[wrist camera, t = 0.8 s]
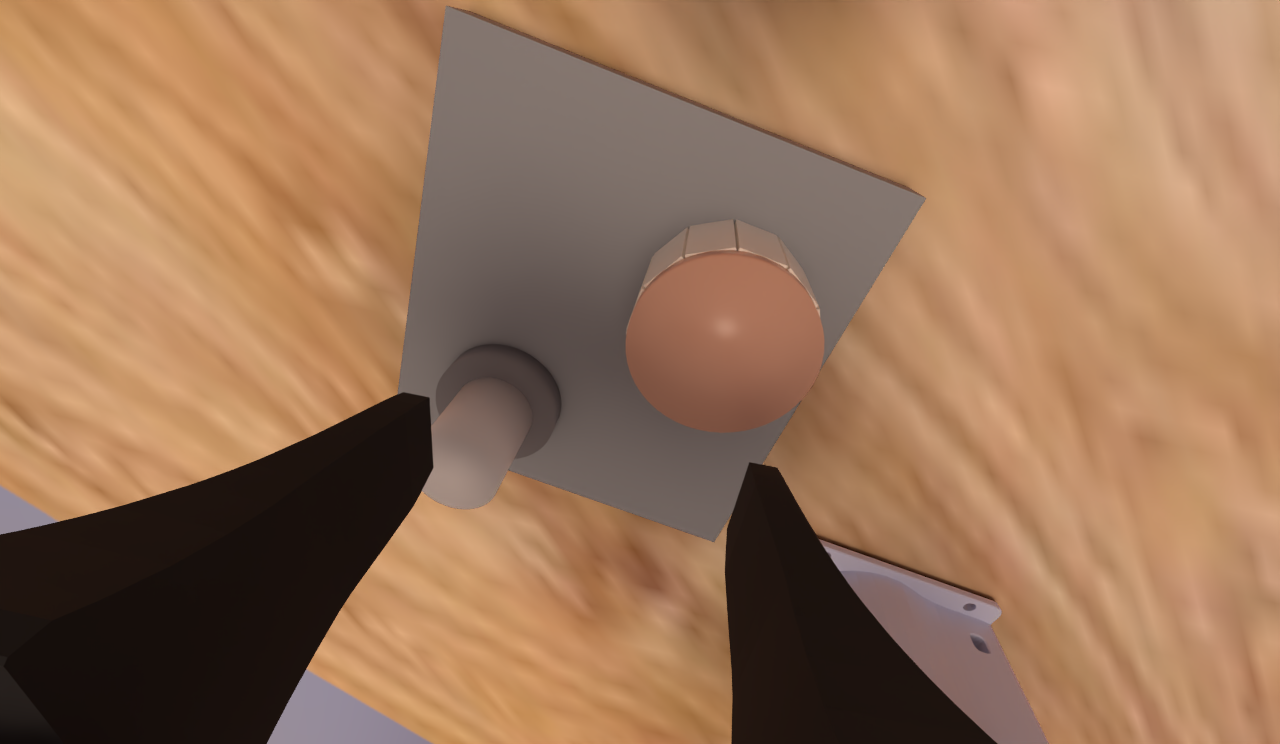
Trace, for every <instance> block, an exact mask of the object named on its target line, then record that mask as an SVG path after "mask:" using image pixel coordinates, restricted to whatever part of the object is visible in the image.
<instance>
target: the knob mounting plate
mask: <svg viewBox="0 0 1280 744" xmlns="http://www.w3.org/2000/svg"><path fill="white" fill-rule="evenodd" d="M925 199H926V198H925V197H923V196H922V195H920V194H919V193H917V192H915V191H914V190H912V189H910V188H908V187H906V186H903V185H901V184H898V183H896V182H893V181H891V180H888V179H886V178H883V177H881V176H878V175H876V174H873V173H871V172H868V171H866V170H863V169H861V168H858V167H856V166H854V165H851V164H849V163H846V162H844V161H841V160H839V159H836V158H834V157H831V156H829V155H826V154H824V153H821V152H819V151H816V150H814V149H811V148H809V147H806V146H804V145H801V144H799V143H796V142H794V141H791V140H789V139H786V138H784V137H781V136H779V135H776V134H774V133H771V132H769V131H766V130H764V129H761V128H759V127H756V126H754V125H751V124H749V123H746V122H744V121H741V120H739V119H736V118H734V117H731V116H729V115H726V114H724V113H722V112H719V111H717V110H714V109H712V108H709V107H707V106H704V105H702V104H699V103H697V102H694V101H692V100H689V99H687V98H684V97H682V96H679V95H677V94H674V93H672V92H669V91H667V90H664V89H662V88H659V87H657V86H654V85H652V84H649V83H647V82H644V81H642V80H639V79H637V78H634V77H632V76H629V75H627V74H624V73H622V72H619V71H617V70H614V69H612V68H609V67H607V66H604V65H602V64H599V63H597V62H594V61H592V60H589V59H587V58H585V57H582V56H580V55H577V54H575V53H572V52H570V51H567V50H565V49H562V48H560V47H557V46H555V45H552V44H550V43H547V42H545V41H542V40H540V39H537V38H535V37H532V36H530V35H527V34H525V33H522V32H520V31H517V30H515V29H512V28H510V27H507V26H505V25H502V24H500V23H497V22H495V21H492V20H490V19H487V18H485V17H482V16H480V15H477V14H475V13H472V12H470V11H466V10H462V9H458V8H454V7H450V6H446V9H445V17H444V25H443V33H442V42H441V50H440V58H439V66H438V74H437V82H436V90H435V98H434V106H433V114H432V122H431V130H430V138H429V146H428V154H427V162H426V170H425V178H424V186H423V194H422V202H421V210H420V218H419V226H418V234H417V243H416V251H415V259H414V267H413V275H412V283H411V291H410V299H409V307H408V315H407V323H406V331H405V339H404V347H403V355H402V363H401V371H400V379H399V387H398V394H400V393H402V392H405V393H410V394H415V395H420V396H425V397H430V414H431V432H432V449H433V466H434V468H433V470H432V472H431V474H430V476H429V478H428V480H427V482H426V484H425V486H424V487H423V489H422V491H423V492H424V493H425V494H426V495H427V496H429V497H430V498H431V499H433V500H435V501H436V502H438V503H440V504H443V505H445V506H448V507H452V508H457V509H474V508H478V507H481V506H484V505H485V504H487V503H488V502H490V501H491V500H492V499H493V497H494V496H495V494H496V492H497V490H498V488H499V486H500V484H501V483H502V481H503V479H504V477H505V475H506V473H507V471H508V470H509V471H512V472H515V473H518V474H520V475H523V476H526V477H529V478H532V479H535V480H538V481H540V482H543V483H546V484H549V485H552V486H555V487H558V488H561V489H563V490H566V491H569V492H572V493H575V494H578V495H581V496H583V497H586V498H589V499H592V500H595V501H598V502H601V503H603V504H606V505H609V506H612V507H615V508H618V509H621V510H623V511H626V512H629V513H632V514H635V515H638V516H641V517H643V518H646V519H649V520H652V521H655V522H658V523H661V524H663V525H666V526H669V527H672V528H675V529H678V530H681V531H683V532H686V533H689V534H692V535H695V536H698V537H701V538H704V539H706V540H709V541H712V542H714V541H715V540H716V538H717V537H718V535H719V533H720V532H721V530H722V528H723V527H724V525H725V524H726V522H727V520H728V519H729V517H730V515H731V514H732V512H733V510H734V507H735V504H736V501H737V498H738V495H739V492H740V489H741V486H742V483H743V480H744V477H745V474H746V471H747V468H748V465H749V462H751V463H756V464H761V465H762V464H763V462H764V460H765V459H766V457H767V455H768V454H769V452H770V451H771V449H772V447H773V446H774V444H775V443H776V441H777V439H778V438H779V436H780V434H781V433H782V431H783V430H784V428H785V426H786V425H787V423H788V421H789V420H790V418H791V417H792V415H793V413H794V412H795V410H796V408H797V407H798V405H799V404H800V402H801V401H800V402H799V403H798V404H797V405H796V406H795V407H794V408H792V409H791V410H790V411H789V412H788V413H786V414H784V415H783V416H781V417H780V418H778V419H776V420H774V421H772V422H770V423H768V424H766V425H763V426H760V427H757V428H754V429H750V430H746V431H739V432H728V433H718V432H708V431H702V430H697V429H694V428H690V427H687V426H684V425H682V424H680V423H677V422H675V421H673V420H672V419H670V418H668V417H666V416H665V415H663V414H662V413H661V412H659V411H658V410H657V409H656V408H654V407H653V406H652V405H651V404H650V403H649V402H648V401H647V400H646V398H645V397H644V396H643V395H642V394H641V392H640V391H639V389H638V387H637V386H636V384H635V382H634V380H633V378H632V376H631V374H630V370H629V367H628V364H627V358H626V331H627V330H626V328H627V326H628V323H629V320H630V317H631V314H632V311H633V308H634V306H635V303H636V300H637V297H638V294H639V291H640V289H641V286H642V283H643V281H644V278H645V275H646V273H647V270H648V267H649V264H650V262H651V259H652V256H654V253H656V252H657V251H658V250H659V249H661V248H662V247H663V246H664V245H666V244H667V243H668V242H669V241H671V240H672V239H673V238H674V237H676V236H677V235H678V234H679V233H680V232H682V231H683V230H684V229H685V228H688V229H689V228H690V226H693V225H699V224H705V223H712V222H718V221H724V220H731V219H733V221H734V224H735V221H736V219H737V220H739V221H742V222H744V223H747V224H749V225H752V226H755V227H757V228H760V229H762V230H765V231H767V232H770V233H773V234H775V235H777V237H779V238H780V239H781V240H782V242H783V243H784V244H785V246H786V247H787V248H788V250H789V251H790V252H791V254H792V255H793V257H794V258H795V259H796V261H797V262H798V263H799V265H800V266H801V267H802V269H803V270H804V273H805V275H806V277H807V280H808V282H809V284H810V287H811V289H812V291H813V294H814V296H815V298H816V301H817V303H818V305H819V308H820V319H821V323H822V327H823V332H824V341H825V343H824V356H823V361H822V365H821V368H822V366H823V365H824V363H825V361H826V360H827V358H828V357H829V355H830V353H831V352H832V350H833V349H834V347H835V345H836V344H837V342H838V340H839V339H840V337H841V336H842V334H843V332H844V331H845V329H846V327H847V326H848V324H849V323H850V321H851V319H852V318H853V316H854V314H855V313H856V311H857V310H858V308H859V306H860V305H861V303H862V302H863V300H864V298H865V297H866V295H867V293H868V292H869V290H870V289H871V287H872V285H873V284H874V282H875V280H876V279H877V277H878V276H879V274H880V272H881V271H882V269H883V267H884V266H885V264H886V263H887V261H888V259H889V258H890V256H891V255H892V253H893V251H894V250H895V248H896V246H897V245H898V243H899V242H900V240H901V238H902V237H903V235H904V233H905V232H906V230H907V229H908V227H909V225H910V224H911V222H912V220H913V219H914V217H915V216H916V214H917V212H918V211H919V209H920V208H921V206H922V204H923V203H924V201H925ZM821 368H820V370H821Z"/></svg>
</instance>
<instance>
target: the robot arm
mask: <svg viewBox="0 0 1280 744" xmlns="http://www.w3.org/2000/svg"><path fill="white" fill-rule="evenodd" d="M433 468H434V466H433V449H432V432H431V414H430V397H425V396H420V395H415V394H410V393H405V392H402V393H400V394H398V395H395V396H393V397H391V398H389V399H387V400H384V401H382V402H380V403H378V404H376V405H374V406H372V407H370V408H368V409H366V410H364V411H362V412H360V413H358V414H356V415H354V416H352V417H350V418H348V419H346V420H344V421H342V422H340V423H338V424H336V425H334V426H332V427H330V428H328V429H326V430H324V431H321V432H319V433H317V434H315V435H313V436H311V437H309V438H306V439H304V440H302V441H300V442H297V443H295V444H293V445H291V446H288V447H286V448H284V449H282V450H279V451H277V452H275V453H273V454H270V455H268V456H266V457H264V458H261V459H259V460H256V461H254V462H251V463H249V464H246V465H244V466H241V467H239V468H236V469H234V470H231V471H228V472H225V473H223V474H220V475H217V476H214V477H212V478H209V479H206V480H203V481H200V482H197V483H195V484H192V485H189V486H185V487H182V488H179V489H176V490H172V491H169V492H166V493H162V494H159V495H156V496H153V497H149V498H146V499H143V500H140V501H136V502H133V503H130V504H126V505H123V506H119V507H116V508H112V509H108V510H104V511H100V512H96V513H93V514H89V515H85V516H81V517H77V518H73V519H68V520H64V521H60V522H56V523H52V524H48V525H43V526H39V527H34V528H30V529H25V530H21V531H16V532H11V533H6V534H1V535H0V744H267V742H268V740H269V738H270V736H271V734H272V732H273V730H274V728H275V726H276V724H277V722H278V720H279V718H280V717H281V715H282V713H283V711H284V709H285V707H286V705H287V703H288V701H289V699H290V698H291V696H292V694H293V692H294V690H295V688H296V686H297V685H298V683H299V681H300V679H301V678H302V676H303V674H304V672H305V670H306V668H307V667H308V665H309V663H310V661H311V659H312V658H313V656H314V654H315V652H316V651H317V649H318V647H319V645H320V644H321V642H322V640H323V638H324V637H325V635H326V633H327V632H328V630H329V628H330V626H331V625H332V623H333V621H334V620H335V618H336V616H337V614H338V613H339V611H340V609H341V608H342V606H343V605H344V603H345V602H346V600H347V599H348V597H349V596H350V594H351V593H352V591H353V590H354V588H355V587H356V586H357V584H358V583H359V582H360V580H361V579H362V577H363V576H364V575H365V573H366V572H367V570H368V569H369V568H370V566H371V565H372V564H373V562H374V561H375V559H376V558H377V557H378V555H379V554H380V552H381V551H382V550H383V548H384V547H385V545H386V544H387V543H388V541H389V540H390V539H391V537H392V536H393V534H394V533H395V532H396V530H397V529H398V527H399V526H400V524H401V523H402V522H403V520H404V519H405V517H406V516H407V515H408V513H409V512H410V510H411V509H412V507H413V506H414V504H415V502H416V500H417V498H418V497H419V495H420V493H421V491H422V489H423V487H424V486H425V484H426V482H427V480H428V478H429V476H430V474H431V472H432V470H433ZM725 580H726V596H727V611H728V624H729V639H730V653H731V667H732V691H733V704H732V744H1049V743H1048V741H1047V739H1046V737H1045V735H1044V733H1043V731H1042V729H1041V727H1040V725H1039V723H1038V721H1037V719H1036V717H1035V715H1034V712H1033V710H1032V708H1031V706H1030V704H1029V702H1028V700H1027V698H1026V696H1025V694H1024V692H1023V690H1022V688H1021V686H1020V684H1019V682H1018V680H1017V678H1016V676H1015V674H1014V672H1013V670H1012V668H1011V666H1010V664H1009V662H1008V660H1007V658H1006V656H1005V654H1004V652H1003V650H1002V647H1001V645H1000V643H999V641H998V639H997V637H996V635H995V633H994V631H993V629H992V627H991V624H992V623H993V622H994V621H995V620H997V619H998V618H999V617H1000V615H1001V613H1002V611H1001V609H1000V607H999V605H998V604H997V603H996V602H995V601H992V600H989V599H987V598H984V597H981V596H978V595H975V594H972V593H970V592H967V591H964V590H961V589H958V588H956V587H953V586H950V585H947V584H944V583H941V582H939V581H936V580H933V579H930V578H927V577H925V576H922V575H919V574H916V573H913V572H910V571H908V570H905V569H902V568H899V567H896V566H894V565H891V564H888V563H885V562H882V561H879V560H877V559H874V558H871V557H868V556H865V555H862V554H860V553H857V552H854V551H851V550H848V549H846V548H843V547H840V546H837V545H834V544H831V543H829V542H826V541H823V540H820V539H818V537H817V535H816V534H815V532H814V531H813V529H812V527H811V526H810V524H809V522H808V521H807V519H806V517H805V516H804V514H803V512H802V510H801V509H800V507H799V505H798V504H797V502H796V500H795V498H794V496H793V495H792V493H791V491H790V489H789V487H788V486H787V484H786V482H785V480H784V478H783V477H782V475H781V473H780V472H779V470H778V468H776V467H771V466H766V465H761V464H756V463H751V462H749V465H748V468H747V471H746V474H745V477H744V480H743V483H742V486H741V489H740V492H739V495H738V498H737V501H736V504H735V507H734V510H733V513H732V516H731V519H730V522H729V525H728V528H727V541H726V560H725Z"/></svg>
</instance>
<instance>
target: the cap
mask: <svg viewBox="0 0 1280 744" xmlns="http://www.w3.org/2000/svg"><path fill="white" fill-rule="evenodd" d="M626 330H627V331H626V358H627V364H628V367H629V370H630V374H631V376H632V378H633V380H634V382H635V384H636V386H637V387H638V389H639V391H640V392H641V394H642V395H643V396H644V397H645V398H646V400H647V401H648V402H649V403H650V404H651V405H652V406H653V407H654V408H656V409H657V410H658V411H659V412H661V413H662V414H663V415H665V416H666V417H668V418H670V419H672V420H673V421H675V422H677V423H680V424H682V425H684V426H687V427H690V428H694V429H697V430H702V431H708V432H718V433H728V432H739V431H746V430H750V429H754V428H757V427H760V426H763V425H766V424H768V423H770V422H772V421H774V420H776V419H778V418H780V417H781V416H783V415H784V414H786V413H788V412H789V411H790V410H791V409H792V408H794V407H795V406H796V405H797V404H798V403H799V402H800V401H801V400H802V399H803V398H804V397H805V396H806V394H807V393H808V391H809V390H810V389H811V387H812V386H813V384H814V382H815V380H816V378H817V376H818V374H819V371H820V368H821V365H822V361H823V356H824V343H825V341H824V332H823V327H822V323H821V319H820V308H819V305H818V303H817V301H816V298H815V296H814V294H813V291H812V289H811V287H810V284H809V282H808V280H807V277H806V275H805V273H804V270H803V269H802V267H801V266H800V265H799V263H798V262H797V261H796V259H795V258H794V257H793V255H792V254H791V252H790V251H789V250H788V248H787V247H786V246H785V244H784V243H783V242H782V240H781V239H780V238H779V237H777V235H775V234H773V233H770V232H767V231H765V230H762V229H760V228H757V227H755V226H752V225H749V224H747V223H744V222H742V221H739V220H737V219H736V221H735V224H734V221H733V219H731V220H724V221H718V222H712V223H705V224H699V225H693V226H690V228H689V229H688V228H685V229H684V230H683V231H682V232H680V233H679V234H678V235H677V236H676V237H674V238H673V239H672V240H671V241H669V242H668V243H667V244H666V245H664V246H663V247H662V248H661V249H659V250H658V251H657V252H656V253H654V256H652V259H651V262H650V264H649V267H648V270H647V273H646V275H645V278H644V281H643V283H642V286H641V289H640V291H639V294H638V297H637V300H636V303H635V306H634V308H633V311H632V314H631V317H630V320H629V323H628V326H627V328H626Z"/></svg>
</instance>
